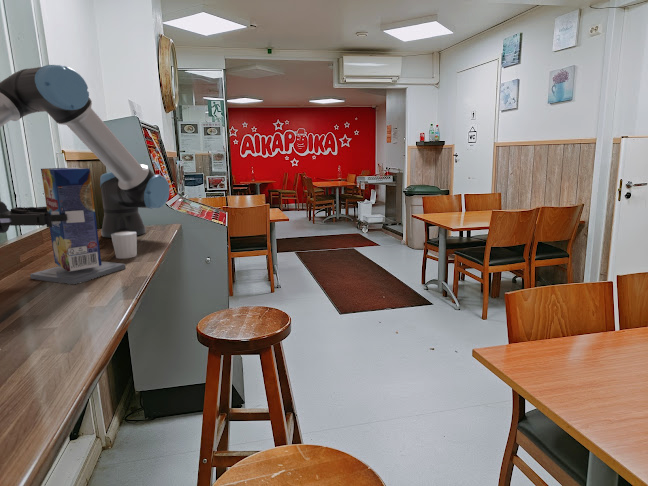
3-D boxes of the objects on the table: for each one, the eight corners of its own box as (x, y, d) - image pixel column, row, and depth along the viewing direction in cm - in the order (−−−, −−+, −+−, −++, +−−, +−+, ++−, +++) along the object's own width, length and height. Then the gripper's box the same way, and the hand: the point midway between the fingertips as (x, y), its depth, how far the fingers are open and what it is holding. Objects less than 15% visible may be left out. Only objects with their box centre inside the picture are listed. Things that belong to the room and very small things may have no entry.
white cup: (121, 260, 121) (118, 236, 119) (109, 256, 125) (106, 233, 123) (143, 255, 126) (141, 232, 125) (131, 252, 130) (129, 230, 129)
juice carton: (101, 265, 106) (89, 168, 101) (68, 271, 101) (53, 169, 96) (86, 257, 114) (74, 167, 109) (54, 263, 109) (40, 168, 104)
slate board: (84, 263, 118) (83, 259, 117) (125, 268, 112) (125, 263, 112) (30, 278, 104) (30, 273, 104) (74, 284, 99) (73, 279, 98)
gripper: (6, 225, 111) (98, 220, 118) (-36, 243, 89) (80, 236, 96) (1, 197, 110) (95, 193, 116) (-43, 208, 87) (76, 203, 94)
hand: (88, 212), depth 106 cm, fingers closed on juice carton, 11 cm apart
